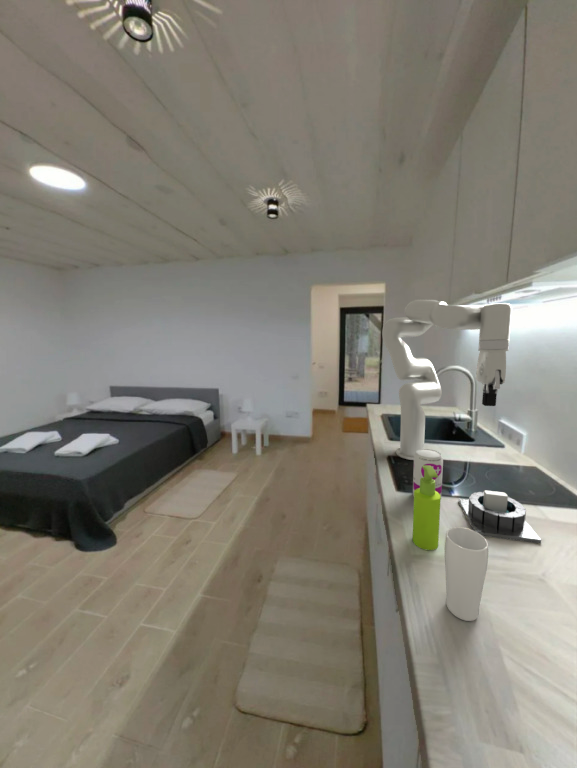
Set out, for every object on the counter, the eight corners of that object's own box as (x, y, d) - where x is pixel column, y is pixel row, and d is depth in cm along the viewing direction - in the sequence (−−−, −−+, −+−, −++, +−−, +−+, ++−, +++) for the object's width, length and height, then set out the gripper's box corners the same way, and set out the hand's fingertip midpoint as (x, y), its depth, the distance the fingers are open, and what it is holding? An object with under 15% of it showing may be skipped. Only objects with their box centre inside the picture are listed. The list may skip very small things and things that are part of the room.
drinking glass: (448, 624, 54) (453, 549, 51) (437, 592, 60) (440, 524, 58) (490, 629, 53) (496, 553, 50) (473, 596, 59) (478, 527, 57)
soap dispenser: (417, 552, 71) (420, 474, 68) (409, 533, 78) (412, 461, 75) (443, 554, 71) (447, 475, 68) (433, 535, 77) (437, 462, 74)
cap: (475, 507, 87) (477, 485, 86) (503, 511, 85) (505, 488, 84) (482, 522, 80) (485, 498, 79) (513, 526, 78) (516, 501, 77)
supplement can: (444, 506, 90) (446, 459, 88) (415, 503, 92) (417, 457, 89) (436, 492, 98) (439, 448, 96) (410, 490, 100) (411, 447, 97)
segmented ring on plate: (458, 501, 92) (459, 486, 91) (511, 507, 88) (512, 491, 88) (476, 535, 77) (477, 517, 76) (540, 543, 73) (542, 524, 72)
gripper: (471, 345, 98) (467, 399, 101) (488, 347, 84) (483, 411, 87) (497, 344, 96) (493, 400, 99) (519, 346, 82) (513, 411, 85)
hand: (488, 405), depth 93 cm, fingers closed
